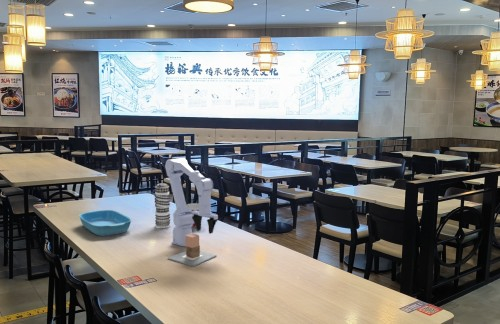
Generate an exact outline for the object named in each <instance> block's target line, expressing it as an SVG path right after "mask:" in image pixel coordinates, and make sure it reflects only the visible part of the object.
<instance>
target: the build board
mask: <svg viewBox="0 0 500 324" xmlns="http://www.w3.org/2000/svg"><path fill="white" fill-rule="evenodd" d="M216 257H217V254H213V253H209V252H206V251H203V250H200V256H198V257H195V258H190V257H188V256H186V250H184V251H182V252H179V253H177V254H173V255H172V256H169V257H167V260H169V261H171V262H177V263H180V264H183V265H187V266H189V267H193V268H194V267H196V266H199V265H201V264H202V263H205V262H207V261H210V260H212V259H214V258H216Z"/></svg>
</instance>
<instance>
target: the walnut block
mask: <svg viewBox="0 0 500 324" xmlns="http://www.w3.org/2000/svg"><path fill="white" fill-rule="evenodd" d="M200 247H201V246H200V244H199V246H197V247H194V248H190V247H187V246H185V251H186V256H188V257H190V258H195V257H198V256H200V251H201V248H200Z"/></svg>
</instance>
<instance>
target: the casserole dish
mask: <svg viewBox="0 0 500 324" xmlns="http://www.w3.org/2000/svg"><path fill="white" fill-rule="evenodd" d="M79 219H80V222H81V224H82V227H83V226H84V227H85V228H86V229H88V231H90V232H91V233H93V234H95V235H96V236H98V237H106V236H113V235H118V234H123V233H125V232H127V231H128V230H129V229H130V226H131V222H132V218H130V217H128V216H127V215H125V214H123V213H120V212H119V211H117V210H114V209H97V210H90V211H87V212H83V213H80V214H79Z"/></svg>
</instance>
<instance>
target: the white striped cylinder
mask: <svg viewBox="0 0 500 324" xmlns="http://www.w3.org/2000/svg"><path fill="white" fill-rule="evenodd" d="M154 188H155V194H154V203H155V204H154V206H155V207H154V208H155V215H154V216H155V220H154V222H155V227H156V228H158V229H166V228H170V227H171V214H170V207H171V200H170V199H171V194H170V185H169V184H168V183H164V182H163V183H158V184H156V186H154Z"/></svg>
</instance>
